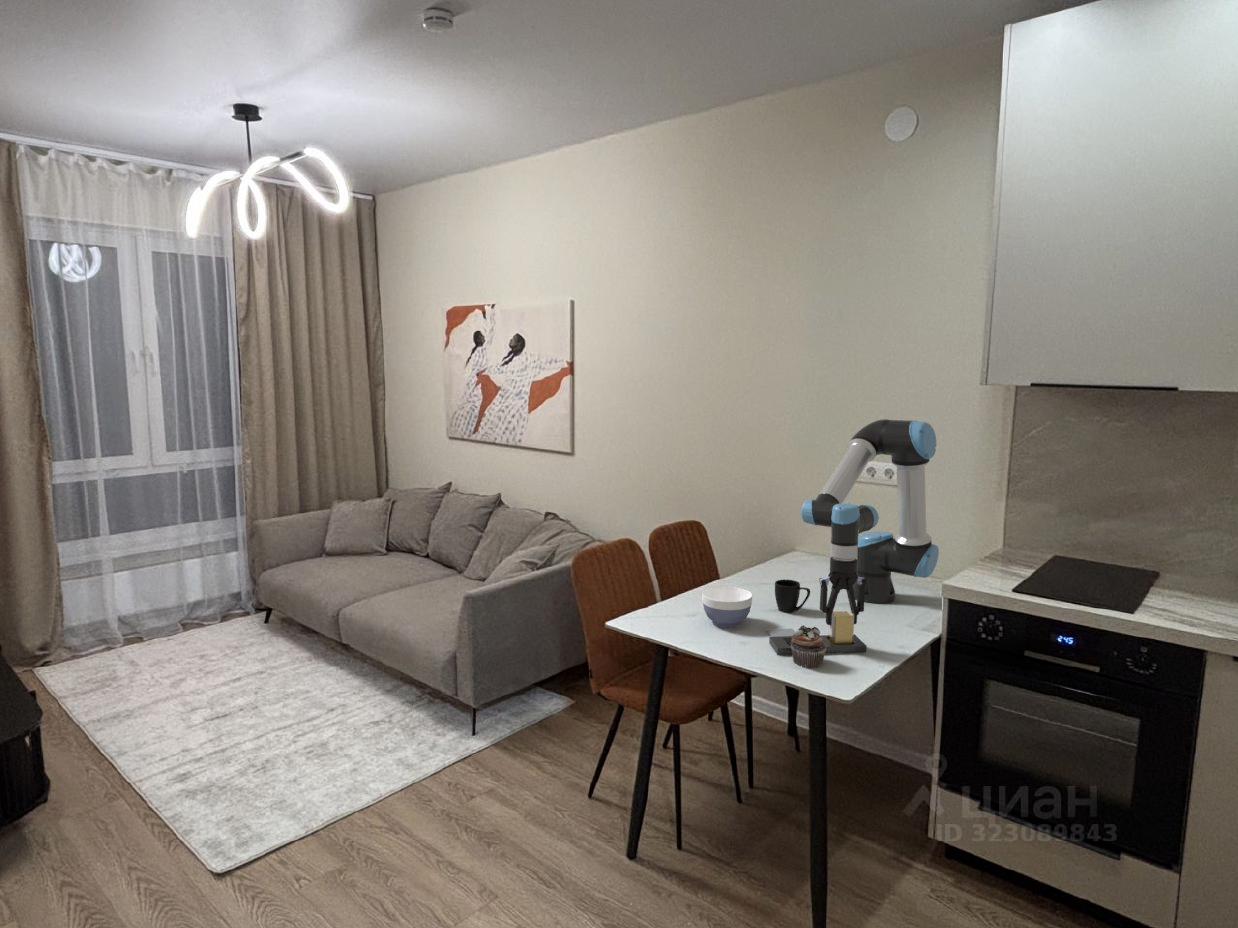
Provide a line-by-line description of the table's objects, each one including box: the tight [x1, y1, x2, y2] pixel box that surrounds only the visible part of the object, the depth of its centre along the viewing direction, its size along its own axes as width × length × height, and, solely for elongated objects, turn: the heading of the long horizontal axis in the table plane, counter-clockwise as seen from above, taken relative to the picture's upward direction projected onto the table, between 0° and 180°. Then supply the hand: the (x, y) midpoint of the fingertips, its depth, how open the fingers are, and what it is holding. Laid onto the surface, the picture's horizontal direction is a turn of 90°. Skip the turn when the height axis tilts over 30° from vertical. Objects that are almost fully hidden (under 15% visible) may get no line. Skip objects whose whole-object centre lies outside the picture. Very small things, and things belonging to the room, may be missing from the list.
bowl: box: [701, 586, 753, 629], centre depth 241 cm, size 16×16×10 cm
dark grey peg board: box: [768, 633, 867, 656], centre depth 220 cm, size 26×9×2 cm, turn 94°
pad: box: [766, 628, 796, 637], centre depth 231 cm, size 8×8×1 cm
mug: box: [774, 579, 811, 614], centre depth 252 cm, size 8×12×10 cm
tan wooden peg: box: [828, 610, 854, 645], centre depth 220 cm, size 5×5×10 cm
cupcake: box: [790, 624, 826, 669], centre depth 210 cm, size 10×10×10 cm
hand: (840, 634), depth 221 cm, fingers closed on tan wooden peg, 5 cm apart
